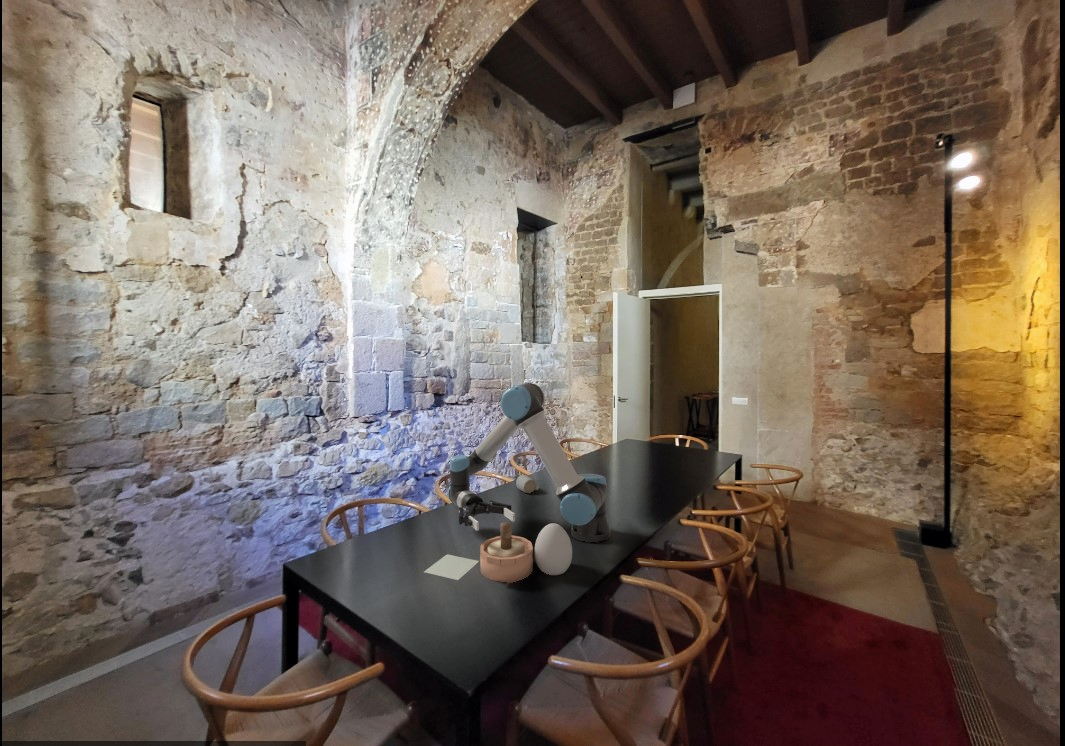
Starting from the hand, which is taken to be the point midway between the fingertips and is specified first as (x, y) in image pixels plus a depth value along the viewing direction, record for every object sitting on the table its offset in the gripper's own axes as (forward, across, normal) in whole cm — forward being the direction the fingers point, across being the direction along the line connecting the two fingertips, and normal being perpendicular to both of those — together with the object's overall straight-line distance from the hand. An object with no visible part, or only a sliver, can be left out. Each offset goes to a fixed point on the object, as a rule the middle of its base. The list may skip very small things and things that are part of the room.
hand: (496, 521), depth 149 cm
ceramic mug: (-56, -47, -14) cm, 74 cm away
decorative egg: (+15, -13, -14) cm, 24 cm away
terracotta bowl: (+7, 0, -14) cm, 15 cm away
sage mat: (-4, +14, -14) cm, 20 cm away
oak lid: (+7, 0, -8) cm, 10 cm away
